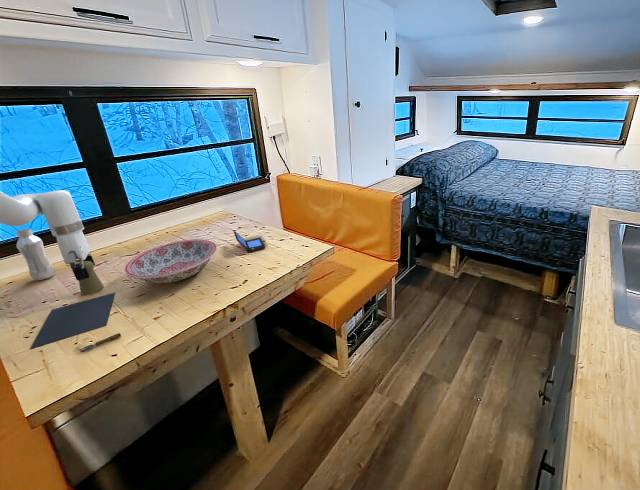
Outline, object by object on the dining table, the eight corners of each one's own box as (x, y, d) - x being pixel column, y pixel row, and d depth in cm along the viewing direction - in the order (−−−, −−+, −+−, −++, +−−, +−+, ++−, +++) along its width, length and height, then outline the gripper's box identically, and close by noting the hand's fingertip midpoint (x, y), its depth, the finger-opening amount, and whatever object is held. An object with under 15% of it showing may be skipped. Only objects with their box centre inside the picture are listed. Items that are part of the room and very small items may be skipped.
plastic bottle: (46, 273, 120) (24, 226, 114) (62, 273, 120) (41, 226, 113) (27, 282, 114) (3, 234, 107) (44, 282, 114) (21, 234, 107)
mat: (30, 349, 83) (29, 348, 83) (51, 310, 99) (51, 309, 99) (106, 325, 91) (106, 324, 91) (115, 292, 107) (115, 292, 107)
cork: (79, 297, 105) (67, 269, 101) (83, 288, 110) (72, 262, 106) (102, 291, 108) (91, 264, 104) (105, 283, 113) (95, 257, 109)
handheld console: (265, 249, 136) (263, 234, 133) (239, 255, 131) (236, 240, 128) (260, 239, 146) (258, 224, 144) (236, 244, 141) (233, 230, 138)
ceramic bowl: (183, 252, 135) (179, 235, 132) (236, 261, 126) (233, 243, 124) (111, 289, 109) (103, 270, 106) (171, 303, 100) (165, 283, 98)
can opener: (121, 335, 87) (120, 331, 87) (120, 339, 85) (119, 336, 85) (78, 349, 82) (77, 346, 82) (77, 355, 80) (75, 352, 80)
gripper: (59, 222, 105) (77, 265, 111) (43, 240, 92) (65, 288, 98) (87, 217, 109) (104, 259, 115) (76, 233, 96) (96, 280, 102)
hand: (86, 272), depth 106 cm, fingers open, 9 cm apart
